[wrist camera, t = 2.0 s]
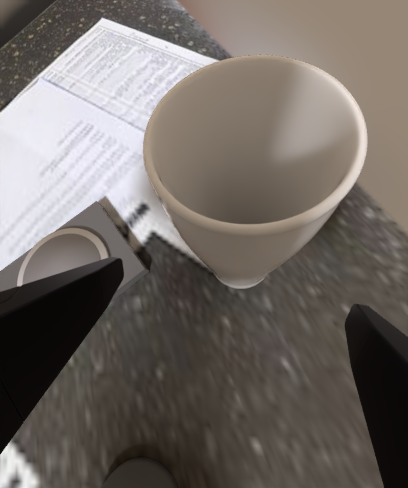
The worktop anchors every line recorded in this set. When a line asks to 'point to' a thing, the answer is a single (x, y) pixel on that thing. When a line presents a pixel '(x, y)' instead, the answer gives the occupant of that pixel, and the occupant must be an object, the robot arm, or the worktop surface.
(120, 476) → the lens cap
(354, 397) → the worktop surface
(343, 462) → the worktop surface
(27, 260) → the grey ringed base plate
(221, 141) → the drinking glass
